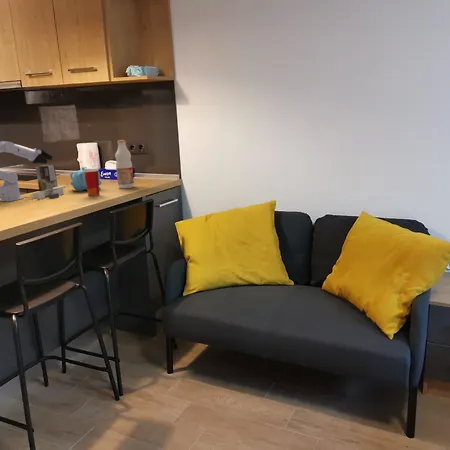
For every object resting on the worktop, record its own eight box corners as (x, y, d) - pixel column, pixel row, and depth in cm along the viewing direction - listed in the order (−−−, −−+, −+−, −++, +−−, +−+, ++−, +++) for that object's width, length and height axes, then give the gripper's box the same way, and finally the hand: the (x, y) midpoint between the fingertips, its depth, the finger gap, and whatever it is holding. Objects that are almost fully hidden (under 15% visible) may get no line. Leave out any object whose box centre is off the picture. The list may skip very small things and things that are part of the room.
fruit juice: (116, 187, 281) (111, 140, 274) (130, 185, 286) (126, 139, 279) (121, 189, 273) (116, 141, 266) (136, 187, 278) (132, 139, 271)
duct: (39, 199, 254) (38, 193, 253) (32, 198, 257) (32, 193, 256) (63, 194, 267) (63, 188, 266) (57, 193, 270) (56, 188, 269)
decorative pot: (103, 189, 275) (101, 167, 272) (76, 193, 268) (73, 169, 265) (97, 186, 289) (94, 164, 286) (70, 189, 282) (67, 167, 279)
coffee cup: (95, 193, 264) (92, 167, 260) (104, 194, 259) (101, 167, 255) (83, 195, 258) (79, 169, 254) (91, 197, 253) (88, 169, 249)
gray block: (53, 199, 254) (52, 194, 254) (49, 198, 256) (48, 194, 256) (59, 197, 257) (58, 193, 257) (55, 197, 259) (54, 192, 259)
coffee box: (58, 191, 277) (55, 164, 273) (52, 193, 271) (48, 166, 267) (45, 191, 280) (41, 164, 276) (39, 193, 274) (34, 166, 270)
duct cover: (52, 190, 260) (51, 184, 260) (46, 189, 263) (45, 183, 262) (65, 187, 268) (64, 181, 267) (59, 187, 270) (58, 181, 270)
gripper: (30, 141, 253) (55, 149, 261) (21, 149, 263) (45, 157, 272) (28, 153, 251) (53, 161, 259) (19, 161, 261) (43, 168, 270)
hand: (49, 160), depth 265 cm, fingers open, 7 cm apart
